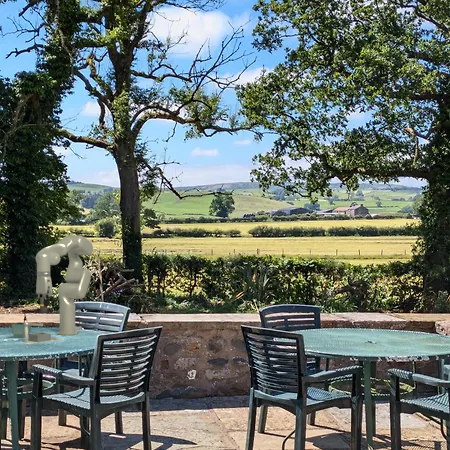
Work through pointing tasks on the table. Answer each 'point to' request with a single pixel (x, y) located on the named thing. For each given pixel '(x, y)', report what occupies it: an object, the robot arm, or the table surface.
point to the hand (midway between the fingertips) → (43, 305)
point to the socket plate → (36, 337)
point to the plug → (42, 306)
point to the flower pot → (19, 330)
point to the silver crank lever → (33, 324)
